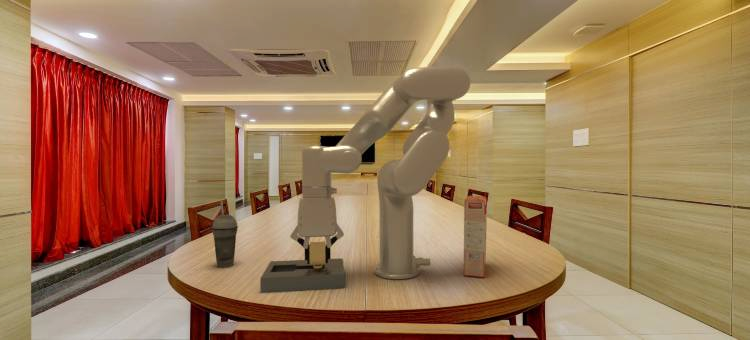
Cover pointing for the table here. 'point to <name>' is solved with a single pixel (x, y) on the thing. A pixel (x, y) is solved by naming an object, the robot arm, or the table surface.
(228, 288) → the table surface
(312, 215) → the robot arm
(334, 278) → the keyhole plate
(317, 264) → the brass peg
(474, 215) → the cracker box
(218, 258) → the beverage cup
